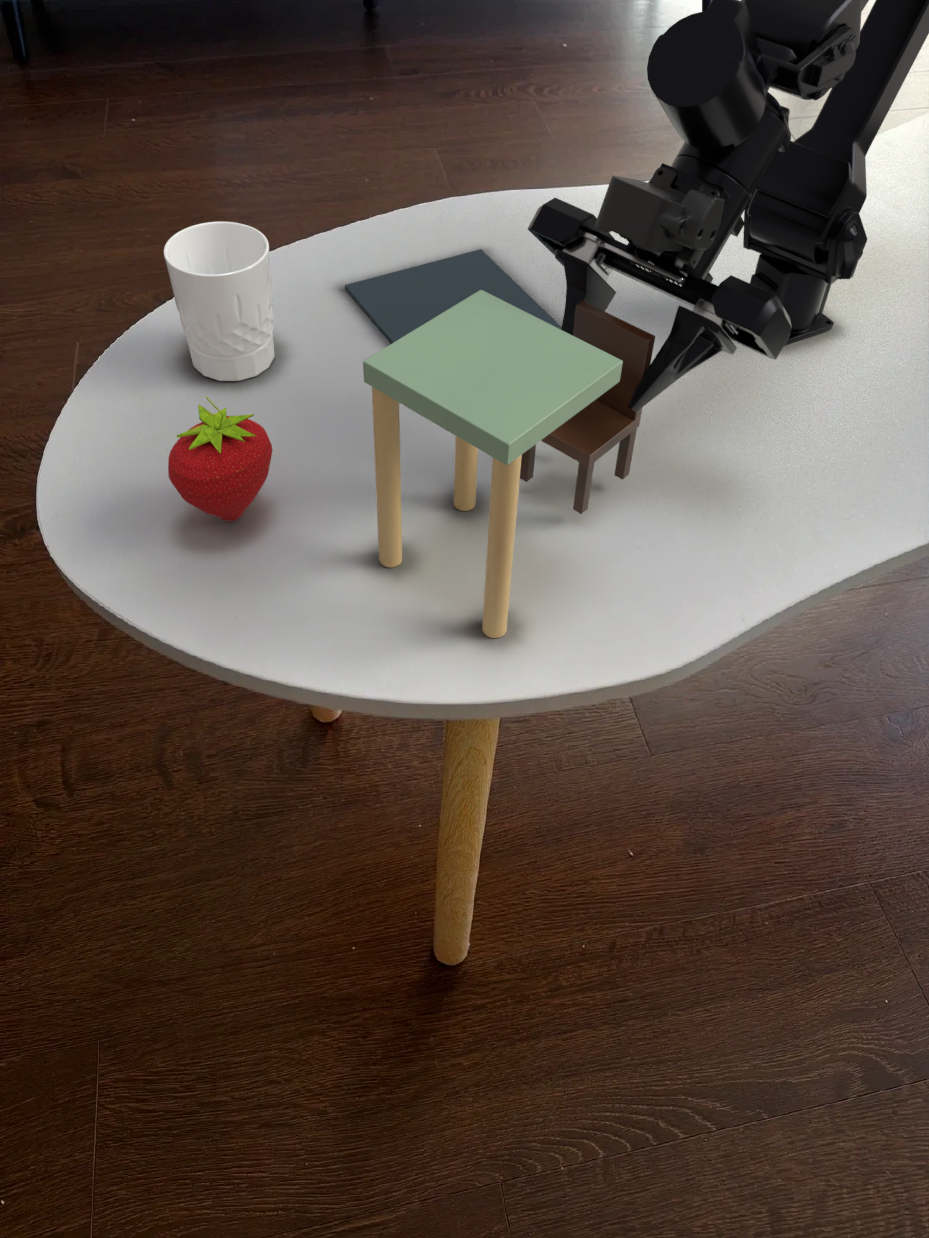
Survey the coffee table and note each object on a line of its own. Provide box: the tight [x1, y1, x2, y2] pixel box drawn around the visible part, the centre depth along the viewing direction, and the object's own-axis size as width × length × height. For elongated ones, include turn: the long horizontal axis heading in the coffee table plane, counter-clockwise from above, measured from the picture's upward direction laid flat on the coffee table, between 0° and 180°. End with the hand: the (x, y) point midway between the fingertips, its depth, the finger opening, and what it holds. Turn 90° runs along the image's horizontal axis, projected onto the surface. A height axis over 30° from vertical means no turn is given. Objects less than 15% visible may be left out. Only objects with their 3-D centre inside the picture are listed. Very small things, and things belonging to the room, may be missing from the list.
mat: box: [344, 248, 562, 344], centre depth 95 cm, size 14×18×1 cm
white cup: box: [163, 221, 275, 382], centre depth 87 cm, size 8×8×10 cm
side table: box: [362, 290, 623, 639], centre depth 70 cm, size 10×11×16 cm
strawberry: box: [167, 395, 273, 522], centre depth 74 cm, size 6×8×10 cm
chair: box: [520, 301, 656, 515], centre depth 76 cm, size 6×6×12 cm
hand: (594, 389), depth 76 cm, fingers closed on chair, 6 cm apart
